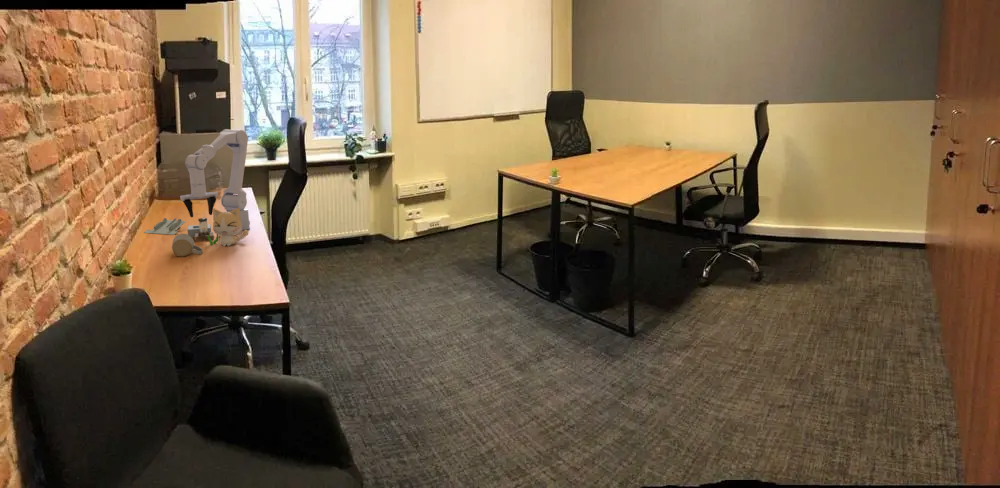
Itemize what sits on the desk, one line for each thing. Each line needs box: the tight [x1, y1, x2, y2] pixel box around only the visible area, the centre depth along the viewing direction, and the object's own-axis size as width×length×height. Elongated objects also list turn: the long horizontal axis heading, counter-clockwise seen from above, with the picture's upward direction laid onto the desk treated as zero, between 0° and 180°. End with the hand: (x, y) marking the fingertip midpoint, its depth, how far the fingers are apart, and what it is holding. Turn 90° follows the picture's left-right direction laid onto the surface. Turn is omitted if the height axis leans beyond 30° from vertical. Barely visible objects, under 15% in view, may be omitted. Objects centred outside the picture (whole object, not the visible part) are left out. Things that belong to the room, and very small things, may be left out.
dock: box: [186, 223, 212, 238], centre depth 302 cm, size 9×8×4 cm
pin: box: [197, 217, 208, 236], centre depth 294 cm, size 3×3×9 cm
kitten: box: [207, 207, 249, 247], centre depth 284 cm, size 15×10×15 cm
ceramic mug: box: [171, 233, 203, 258], centre depth 270 cm, size 11×8×8 cm
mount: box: [194, 231, 214, 242], centre depth 295 cm, size 7×7×2 cm
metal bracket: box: [143, 217, 187, 236], centre depth 308 cm, size 14×6×15 cm
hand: (201, 215), depth 293 cm, fingers open, 7 cm apart
